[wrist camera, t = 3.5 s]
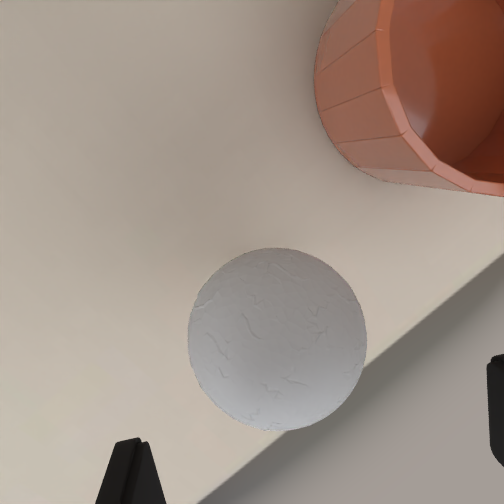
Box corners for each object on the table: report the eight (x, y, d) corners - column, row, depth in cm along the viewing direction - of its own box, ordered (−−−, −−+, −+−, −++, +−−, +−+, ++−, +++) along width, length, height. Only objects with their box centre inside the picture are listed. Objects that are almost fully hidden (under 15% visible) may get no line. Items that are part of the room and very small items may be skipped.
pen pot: (328, 200, 27) (393, 223, 18) (298, -25, 23) (359, -144, 14) (515, 163, 28) (669, 165, 19) (512, -60, 24) (698, -191, 15)
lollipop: (270, 327, 28) (336, 502, 14) (178, 288, 27) (145, 438, 12) (316, 239, 27) (440, 329, 13) (223, 194, 26) (242, 237, 11)
